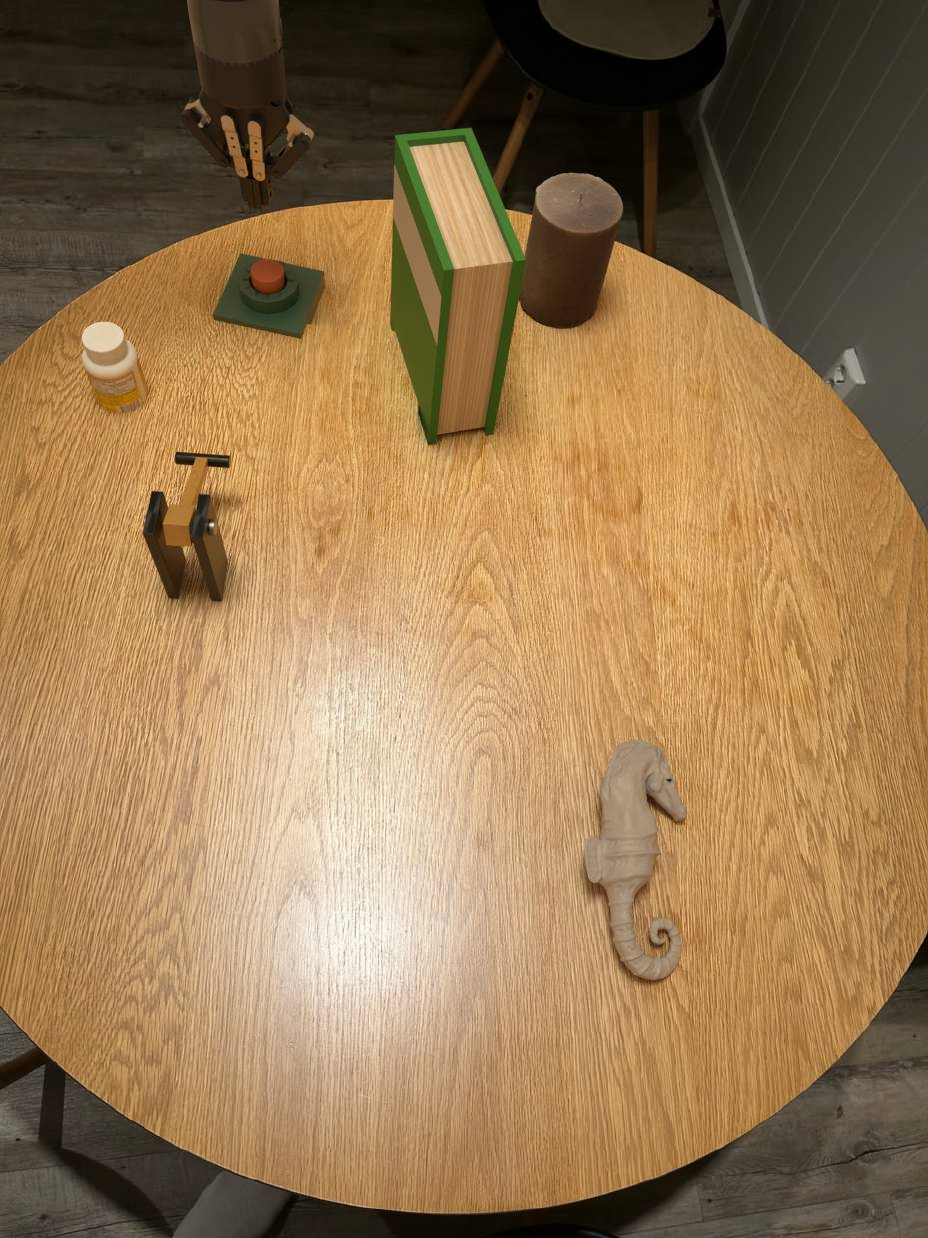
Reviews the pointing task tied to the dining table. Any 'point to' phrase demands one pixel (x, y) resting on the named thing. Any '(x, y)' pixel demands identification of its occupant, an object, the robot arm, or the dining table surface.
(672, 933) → the seahorse
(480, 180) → the hardback book
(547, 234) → the pillar candle
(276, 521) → the dining table surface
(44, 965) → the dining table surface
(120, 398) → the supplement bottle
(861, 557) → the dining table surface
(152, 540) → the bracket
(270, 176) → the robot arm
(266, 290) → the button
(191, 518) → the latch
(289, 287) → the button box
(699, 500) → the dining table surface
